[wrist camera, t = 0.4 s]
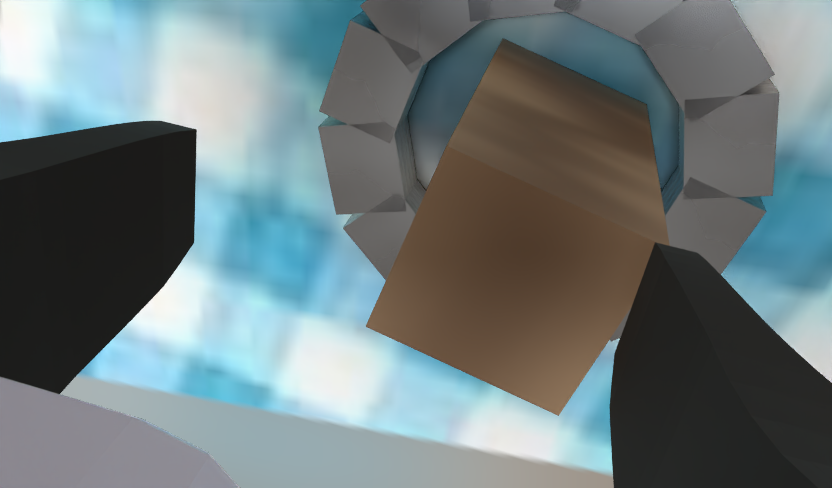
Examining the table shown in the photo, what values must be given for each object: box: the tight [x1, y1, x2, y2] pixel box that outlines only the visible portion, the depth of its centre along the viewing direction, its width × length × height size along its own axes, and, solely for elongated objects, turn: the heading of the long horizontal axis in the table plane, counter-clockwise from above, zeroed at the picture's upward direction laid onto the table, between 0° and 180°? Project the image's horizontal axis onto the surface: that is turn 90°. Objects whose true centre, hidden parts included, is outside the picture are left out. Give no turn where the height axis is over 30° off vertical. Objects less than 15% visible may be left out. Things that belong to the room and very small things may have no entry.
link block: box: [366, 39, 670, 416], centre depth 17 cm, size 4×4×8 cm
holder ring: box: [318, 0, 779, 341], centre depth 20 cm, size 11×11×2 cm
